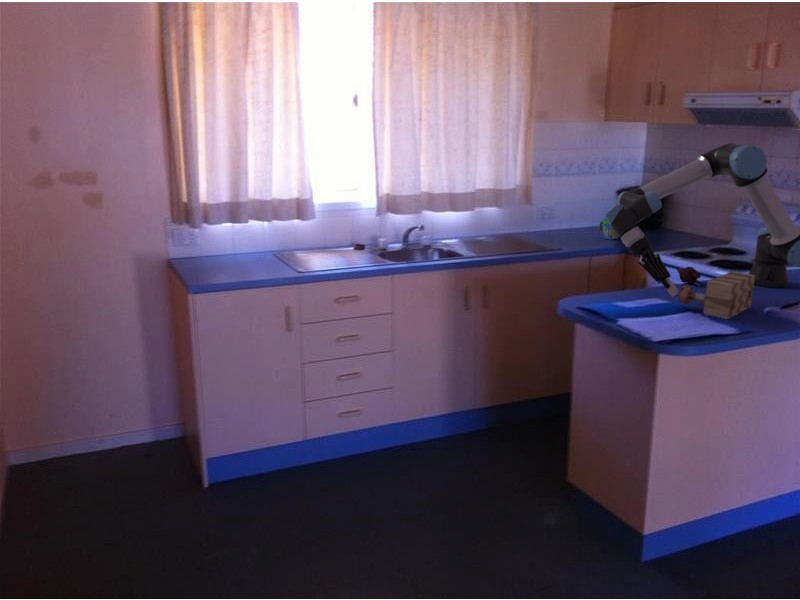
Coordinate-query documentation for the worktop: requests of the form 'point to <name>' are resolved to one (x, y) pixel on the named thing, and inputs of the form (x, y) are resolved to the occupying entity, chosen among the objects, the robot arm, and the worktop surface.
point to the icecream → (689, 275)
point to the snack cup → (607, 230)
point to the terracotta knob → (690, 295)
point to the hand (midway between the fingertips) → (675, 294)
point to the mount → (728, 294)
